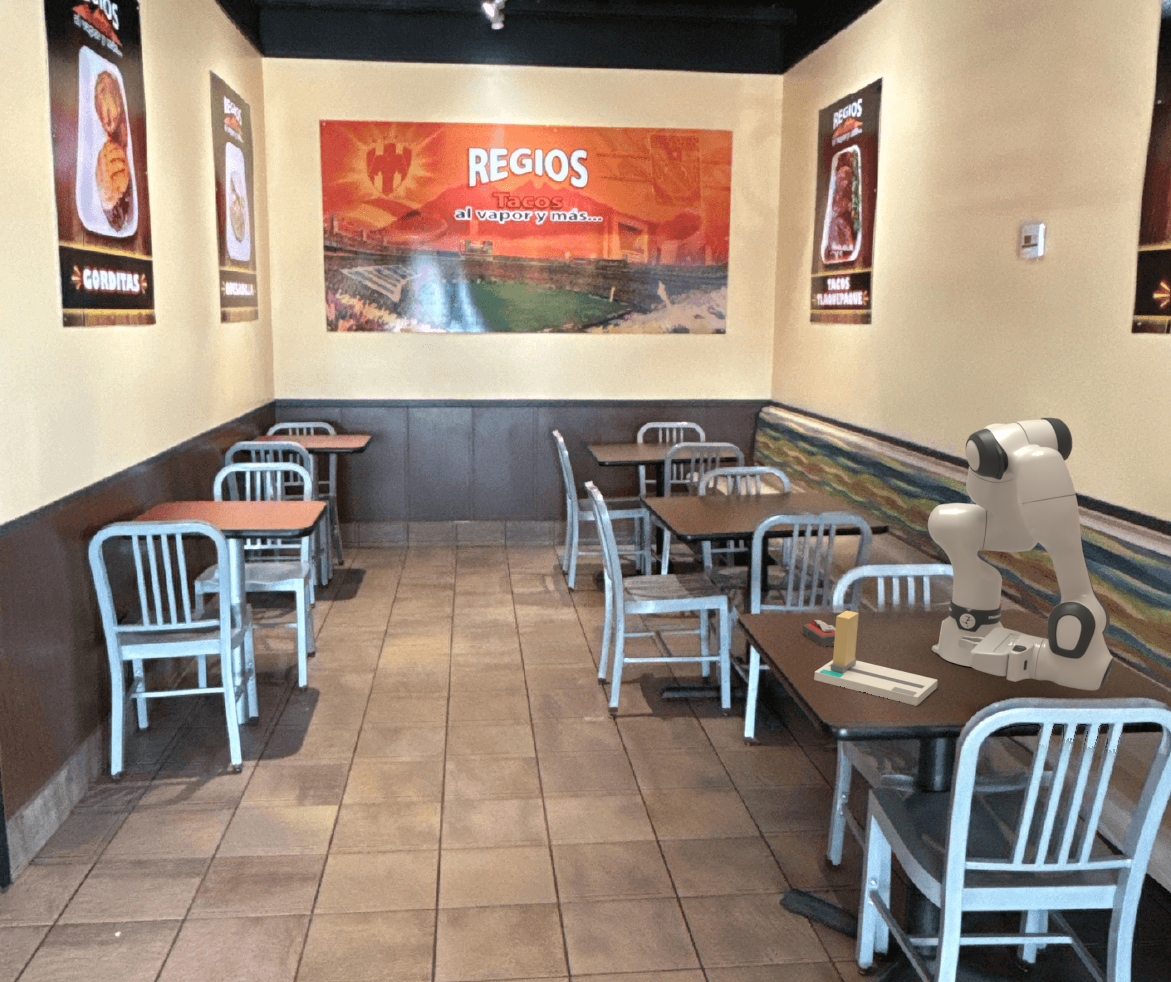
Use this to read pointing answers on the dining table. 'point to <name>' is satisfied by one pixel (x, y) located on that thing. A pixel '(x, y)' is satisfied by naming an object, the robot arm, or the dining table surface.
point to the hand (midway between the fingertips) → (960, 640)
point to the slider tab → (845, 641)
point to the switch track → (880, 682)
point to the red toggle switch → (820, 632)
